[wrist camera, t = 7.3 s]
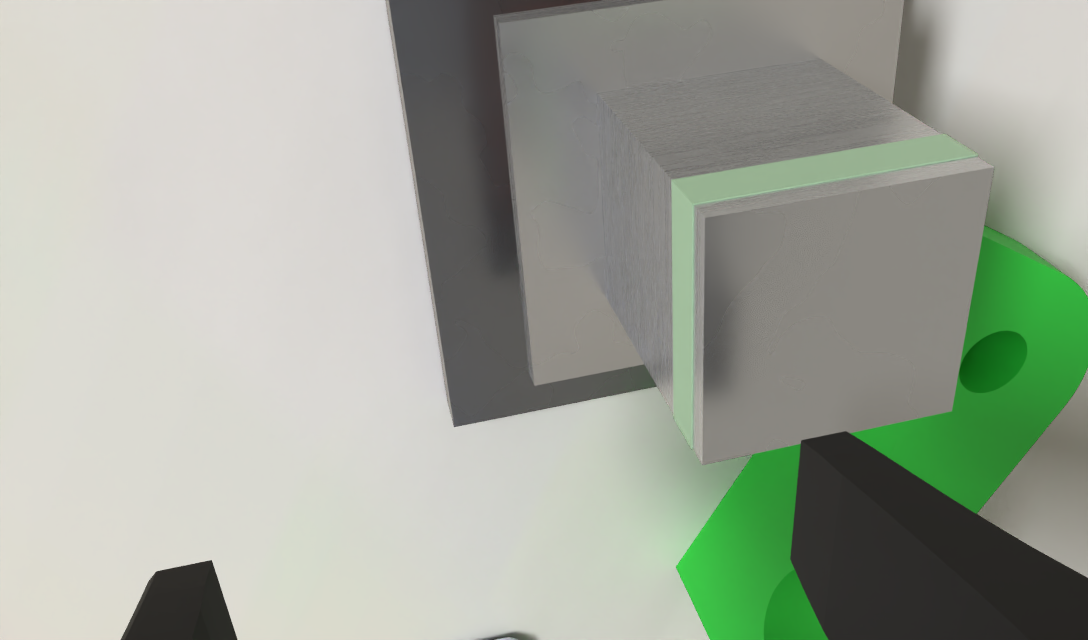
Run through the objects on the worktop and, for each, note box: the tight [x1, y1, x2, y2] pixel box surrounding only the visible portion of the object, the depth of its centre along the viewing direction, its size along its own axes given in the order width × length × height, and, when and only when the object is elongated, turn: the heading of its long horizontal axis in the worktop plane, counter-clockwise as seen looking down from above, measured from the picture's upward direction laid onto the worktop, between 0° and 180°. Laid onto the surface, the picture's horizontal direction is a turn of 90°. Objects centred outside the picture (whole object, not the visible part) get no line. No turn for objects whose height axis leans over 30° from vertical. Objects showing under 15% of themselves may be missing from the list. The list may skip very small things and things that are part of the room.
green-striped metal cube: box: [597, 59, 994, 465], centre depth 16 cm, size 4×4×5 cm
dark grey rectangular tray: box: [385, 0, 904, 427], centre depth 20 cm, size 12×10×4 cm
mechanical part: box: [676, 225, 1088, 640], centre depth 24 cm, size 12×6×8 cm, turn 152°
